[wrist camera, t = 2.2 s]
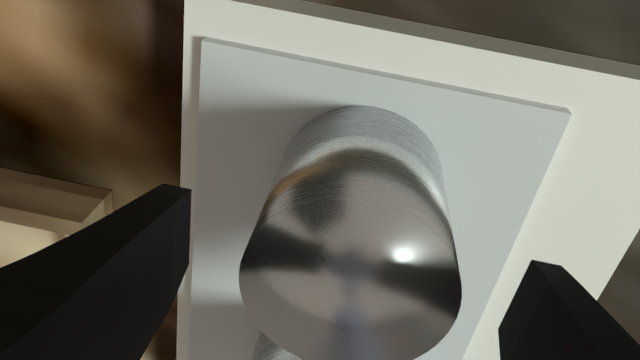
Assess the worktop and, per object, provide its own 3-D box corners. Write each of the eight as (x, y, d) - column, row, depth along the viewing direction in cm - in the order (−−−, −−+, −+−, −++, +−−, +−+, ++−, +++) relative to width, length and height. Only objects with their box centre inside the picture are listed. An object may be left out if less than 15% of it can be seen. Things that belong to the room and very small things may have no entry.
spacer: (419, 259, 15) (427, 388, 11) (273, 229, 15) (231, 347, 11) (463, 124, 13) (494, 227, 9) (291, 90, 13) (247, 178, 9)
